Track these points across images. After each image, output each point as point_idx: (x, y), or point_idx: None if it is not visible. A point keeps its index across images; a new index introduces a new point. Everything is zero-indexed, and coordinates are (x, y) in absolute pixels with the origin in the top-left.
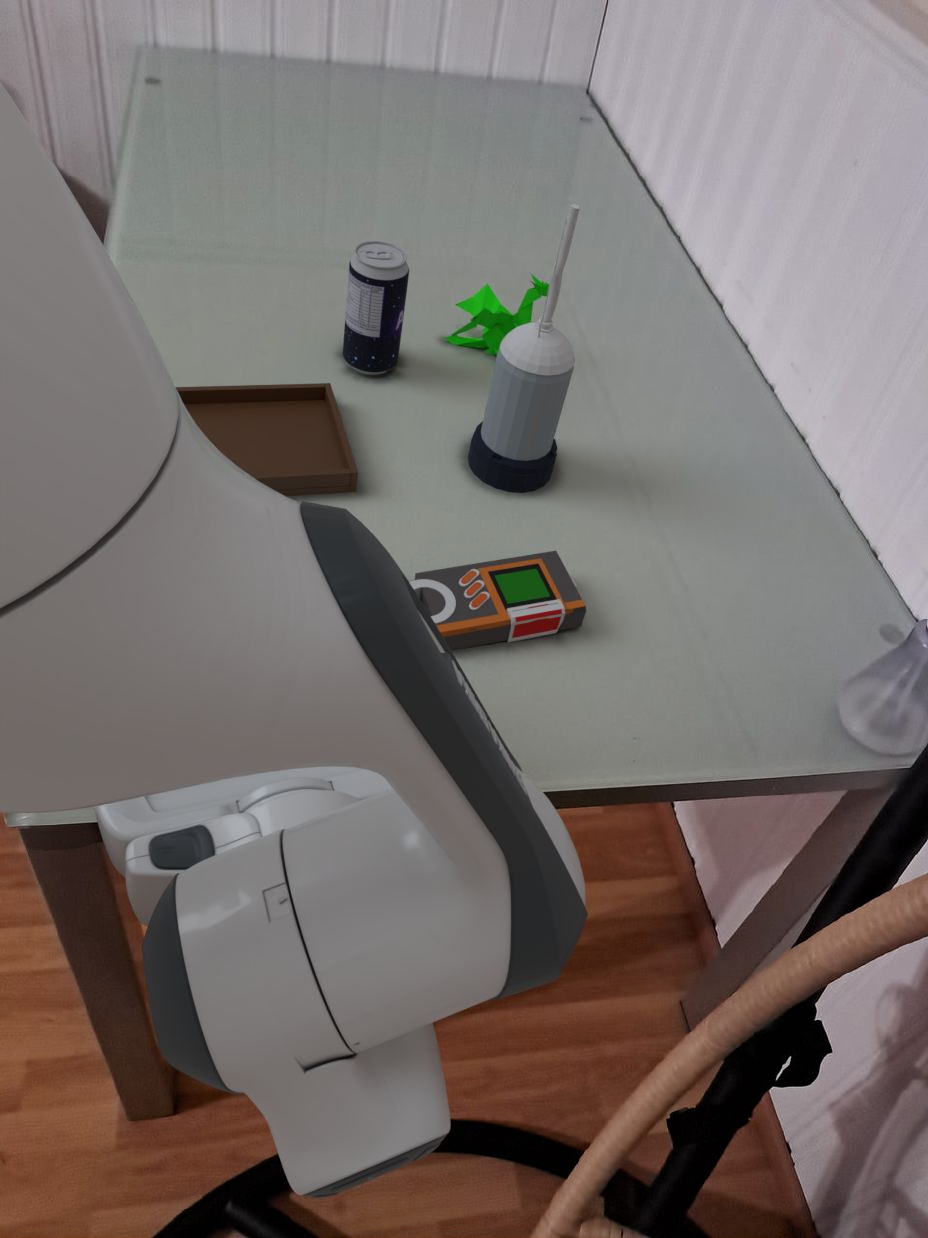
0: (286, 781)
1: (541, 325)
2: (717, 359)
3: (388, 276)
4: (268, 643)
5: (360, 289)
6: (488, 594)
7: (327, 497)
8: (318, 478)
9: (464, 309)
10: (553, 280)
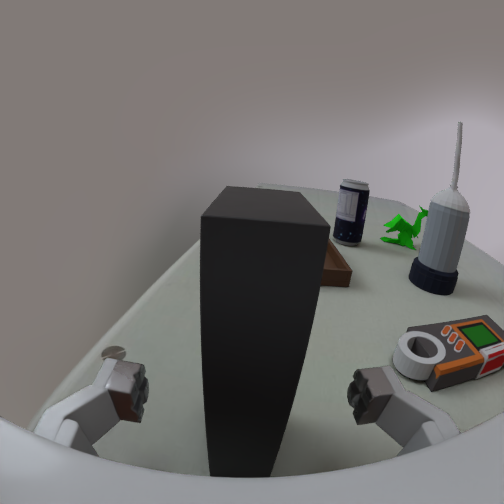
0: None
1: (453, 186)
2: (486, 257)
3: (361, 188)
4: None
5: (346, 195)
6: (463, 341)
7: (330, 287)
8: (326, 272)
9: (388, 226)
10: (456, 160)
